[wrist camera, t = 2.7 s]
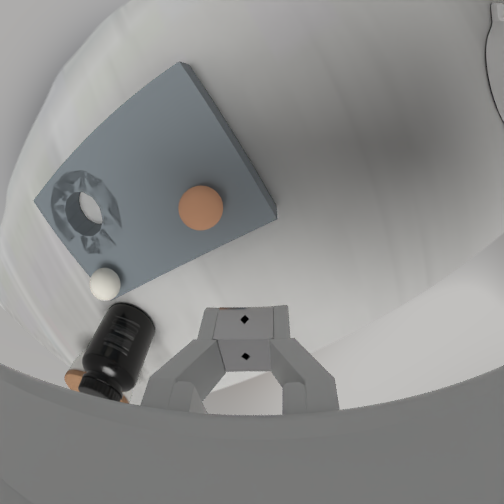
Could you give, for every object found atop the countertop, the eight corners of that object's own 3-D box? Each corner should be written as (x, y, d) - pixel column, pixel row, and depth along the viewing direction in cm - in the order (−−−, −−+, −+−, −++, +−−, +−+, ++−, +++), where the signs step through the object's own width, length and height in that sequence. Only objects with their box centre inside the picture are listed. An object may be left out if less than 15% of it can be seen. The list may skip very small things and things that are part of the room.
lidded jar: (114, 332, 35) (88, 385, 27) (154, 376, 40) (138, 425, 32) (72, 337, 37) (48, 381, 29) (110, 377, 42) (93, 418, 34)
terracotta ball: (211, 172, 20) (201, 186, 17) (234, 207, 21) (228, 226, 18) (177, 192, 21) (163, 209, 18) (200, 225, 22) (190, 245, 19)
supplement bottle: (99, 310, 32) (59, 381, 22) (130, 294, 30) (87, 377, 20) (133, 343, 35) (104, 414, 25) (166, 332, 33) (138, 414, 23)
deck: (188, 64, 17) (179, 61, 15) (276, 206, 24) (277, 219, 21) (47, 191, 24) (33, 200, 21) (119, 286, 30) (111, 300, 28)
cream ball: (111, 256, 24) (95, 276, 22) (131, 280, 26) (118, 302, 23) (93, 268, 25) (78, 287, 23) (112, 290, 27) (100, 311, 24)
